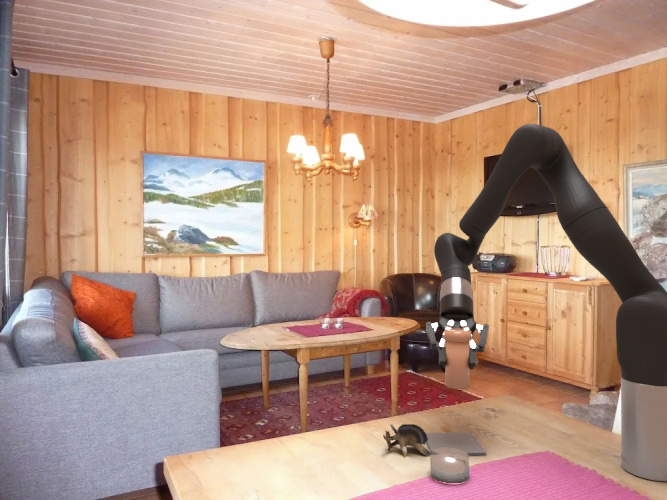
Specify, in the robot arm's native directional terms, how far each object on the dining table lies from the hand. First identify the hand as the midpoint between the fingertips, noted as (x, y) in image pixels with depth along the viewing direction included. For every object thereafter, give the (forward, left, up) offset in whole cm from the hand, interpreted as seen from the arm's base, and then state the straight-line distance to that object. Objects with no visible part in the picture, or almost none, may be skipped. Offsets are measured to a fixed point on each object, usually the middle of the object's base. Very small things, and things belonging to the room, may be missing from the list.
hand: (457, 366), depth 104 cm
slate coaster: (+1, -2, -18) cm, 18 cm away
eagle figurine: (+11, +1, -18) cm, 21 cm away
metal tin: (+5, +12, -18) cm, 22 cm away
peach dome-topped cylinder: (0, -2, -5) cm, 5 cm away
